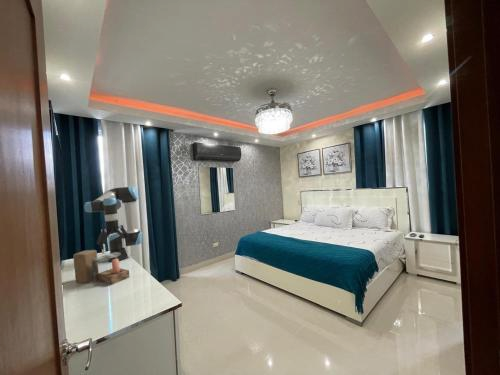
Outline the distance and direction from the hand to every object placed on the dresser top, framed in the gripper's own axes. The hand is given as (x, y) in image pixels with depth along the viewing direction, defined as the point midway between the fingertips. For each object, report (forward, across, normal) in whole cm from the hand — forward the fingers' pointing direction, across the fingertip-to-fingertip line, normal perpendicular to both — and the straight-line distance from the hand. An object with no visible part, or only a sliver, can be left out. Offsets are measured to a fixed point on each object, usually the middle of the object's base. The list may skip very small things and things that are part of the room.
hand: (114, 250), depth 153 cm
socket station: (+20, 0, -4) cm, 21 cm away
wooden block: (+21, +8, -22) cm, 31 cm away
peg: (+20, 0, 0) cm, 20 cm away
